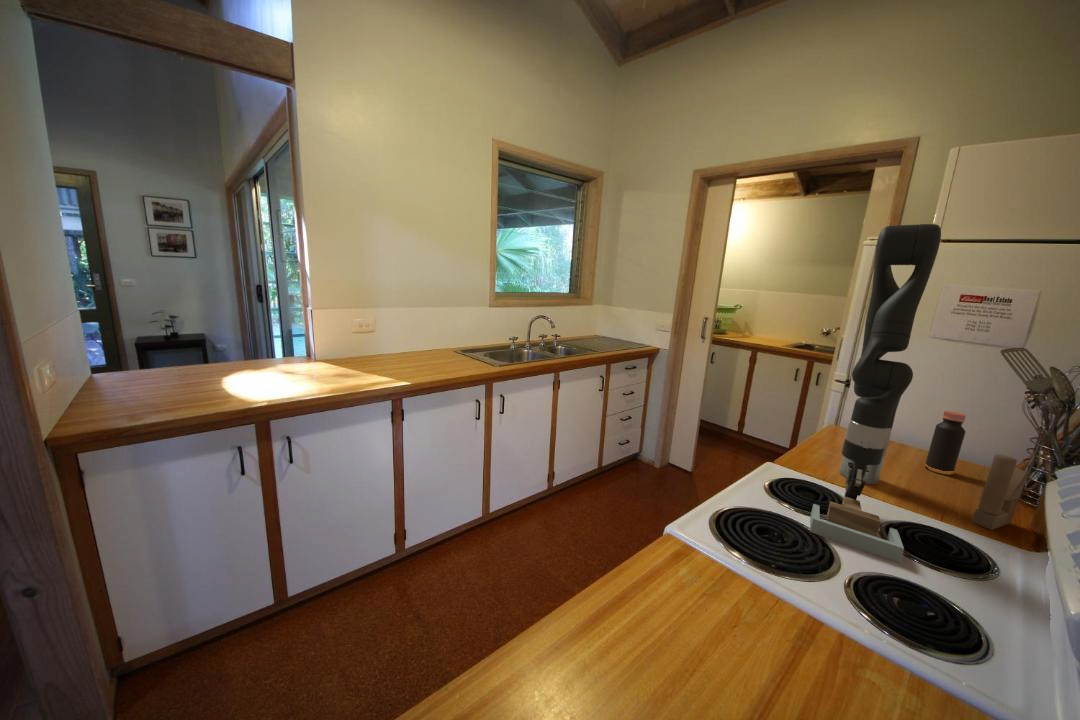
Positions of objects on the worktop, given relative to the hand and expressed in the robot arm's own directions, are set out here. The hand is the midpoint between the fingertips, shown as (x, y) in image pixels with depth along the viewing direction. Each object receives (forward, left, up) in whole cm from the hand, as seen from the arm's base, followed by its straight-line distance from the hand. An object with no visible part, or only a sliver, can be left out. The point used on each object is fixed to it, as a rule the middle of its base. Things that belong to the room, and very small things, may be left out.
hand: (848, 505), depth 100 cm
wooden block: (-20, +30, -1) cm, 36 cm away
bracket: (+14, 0, -1) cm, 14 cm away
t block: (+7, 0, -1) cm, 7 cm away
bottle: (-57, +27, -1) cm, 63 cm away
